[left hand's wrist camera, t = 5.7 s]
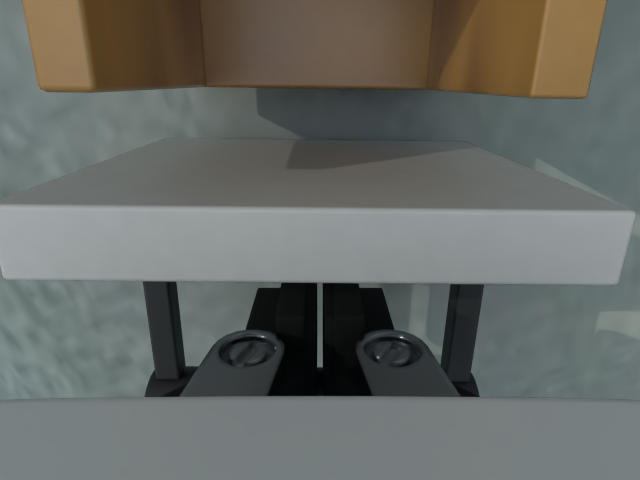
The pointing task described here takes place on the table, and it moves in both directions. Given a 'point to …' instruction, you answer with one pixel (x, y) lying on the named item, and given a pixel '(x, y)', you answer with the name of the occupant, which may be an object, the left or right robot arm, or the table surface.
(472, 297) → the drawer
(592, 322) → the table surface
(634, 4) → the table surface
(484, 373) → the table surface
